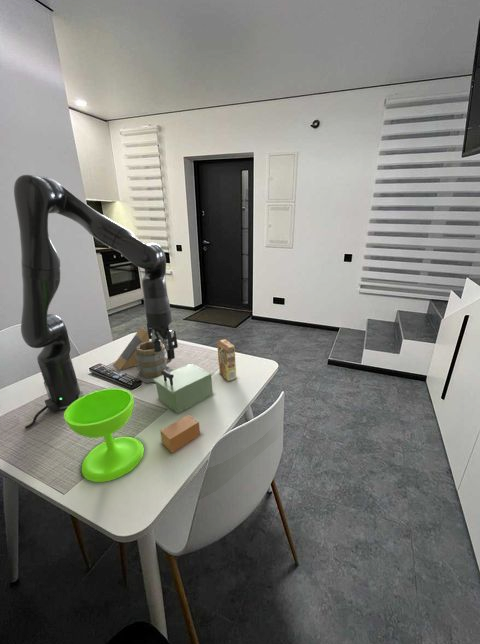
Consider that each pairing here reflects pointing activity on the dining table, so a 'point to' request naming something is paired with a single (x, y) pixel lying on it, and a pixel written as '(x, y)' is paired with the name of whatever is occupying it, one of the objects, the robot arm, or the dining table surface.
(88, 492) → the dining table surface
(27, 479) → the dining table surface
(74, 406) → the wineglass
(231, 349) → the candy box
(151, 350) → the tankard
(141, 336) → the sandwich container
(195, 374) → the lid
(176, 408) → the bin
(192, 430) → the orange-brown rectangular block
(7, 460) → the dining table surface
